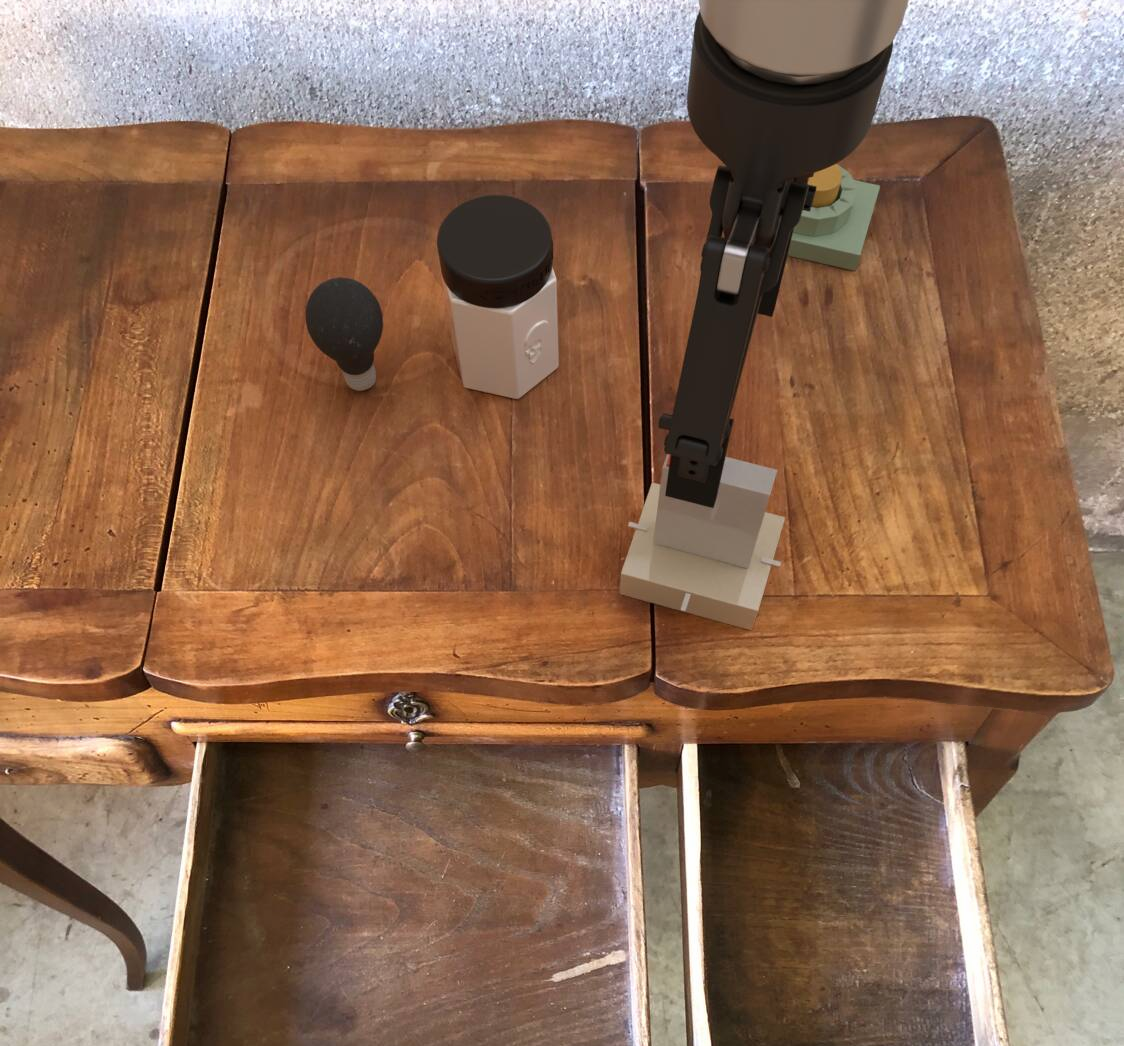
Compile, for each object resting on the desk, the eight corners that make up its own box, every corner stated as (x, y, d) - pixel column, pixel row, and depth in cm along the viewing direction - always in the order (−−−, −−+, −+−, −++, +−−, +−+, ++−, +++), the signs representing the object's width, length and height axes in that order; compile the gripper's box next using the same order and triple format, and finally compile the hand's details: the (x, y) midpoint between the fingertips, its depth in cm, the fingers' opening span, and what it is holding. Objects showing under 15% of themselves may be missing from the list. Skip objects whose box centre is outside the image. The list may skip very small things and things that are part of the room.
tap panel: (790, 523, 79) (799, 499, 76) (754, 652, 75) (761, 632, 72) (647, 486, 80) (650, 461, 77) (604, 610, 76) (605, 589, 73)
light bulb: (313, 386, 84) (280, 291, 74) (364, 345, 85) (338, 246, 76) (361, 425, 82) (333, 334, 73) (412, 383, 84) (391, 287, 74)
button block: (875, 202, 90) (886, 166, 86) (855, 271, 87) (866, 237, 84) (761, 177, 91) (768, 141, 88) (738, 244, 88) (744, 209, 85)
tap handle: (755, 545, 74) (778, 467, 66) (748, 569, 74) (770, 493, 65) (660, 520, 75) (671, 439, 67) (652, 543, 75) (662, 464, 66)
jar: (499, 418, 82) (487, 304, 71) (430, 359, 84) (407, 240, 73) (580, 354, 84) (580, 233, 73) (511, 298, 87) (501, 172, 75)
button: (841, 181, 86) (846, 163, 85) (831, 213, 85) (836, 194, 84) (798, 172, 87) (803, 153, 85) (788, 203, 86) (792, 185, 84)
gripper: (775, -197, 44) (713, 222, 63) (604, 242, 35) (594, 566, 55) (954, -166, 43) (834, 249, 63) (822, 292, 34) (732, 603, 54)
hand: (722, 398), depth 59 cm, fingers open, 13 cm apart
